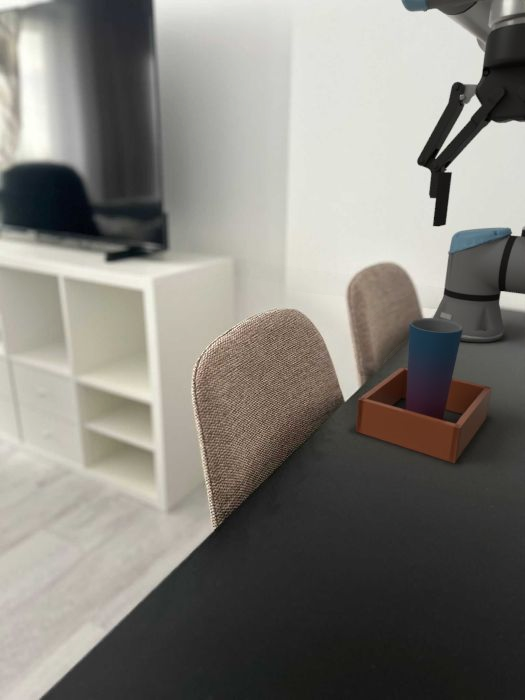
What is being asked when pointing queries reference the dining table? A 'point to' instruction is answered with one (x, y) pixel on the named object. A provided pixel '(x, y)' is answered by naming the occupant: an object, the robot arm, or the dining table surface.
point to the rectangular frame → (423, 417)
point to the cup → (431, 364)
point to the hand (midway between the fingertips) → (494, 229)
